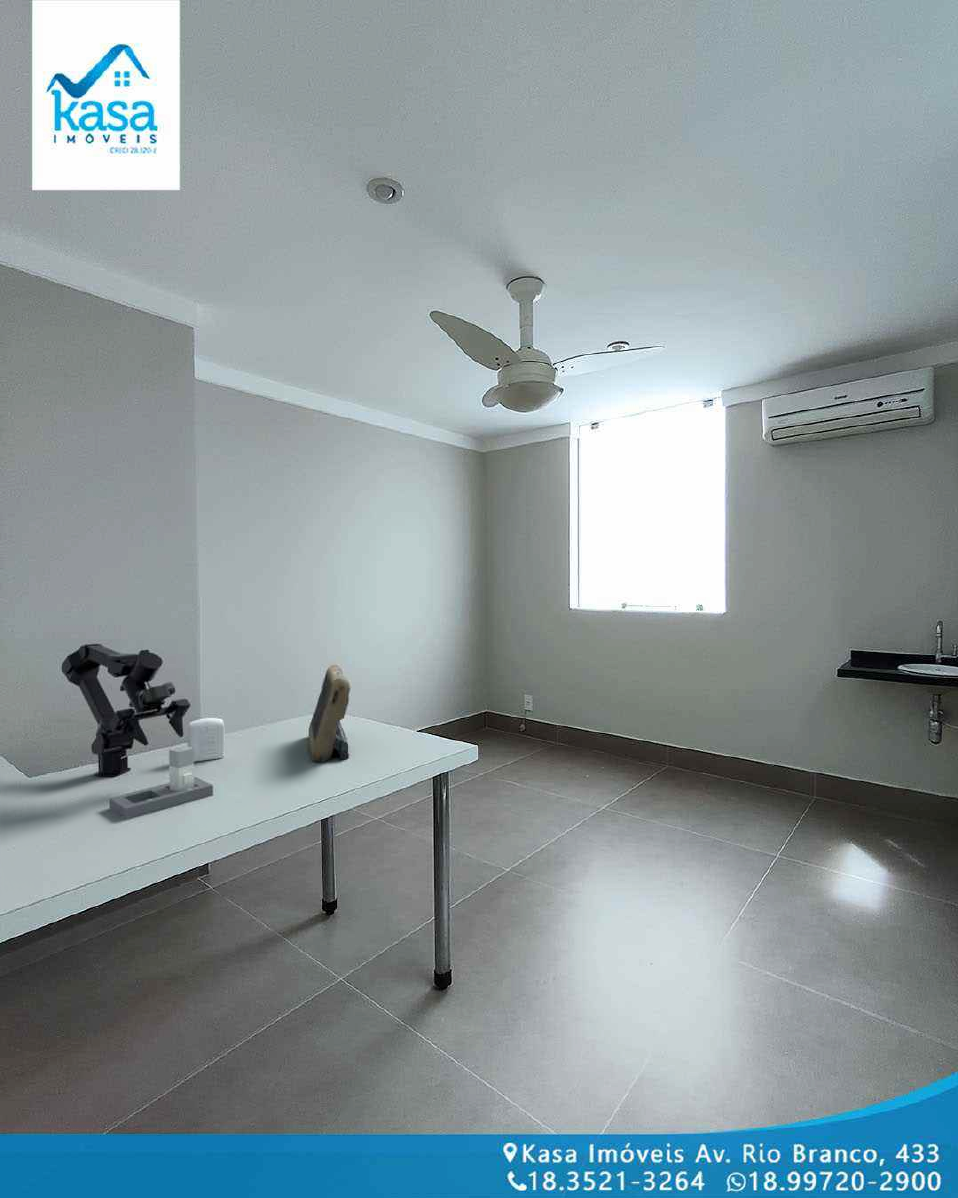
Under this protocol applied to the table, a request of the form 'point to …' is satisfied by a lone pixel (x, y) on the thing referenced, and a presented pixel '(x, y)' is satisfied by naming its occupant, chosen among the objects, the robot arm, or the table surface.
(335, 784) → the table surface
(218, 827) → the table surface
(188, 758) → the plug
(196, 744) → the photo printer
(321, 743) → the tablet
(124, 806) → the socket plate
